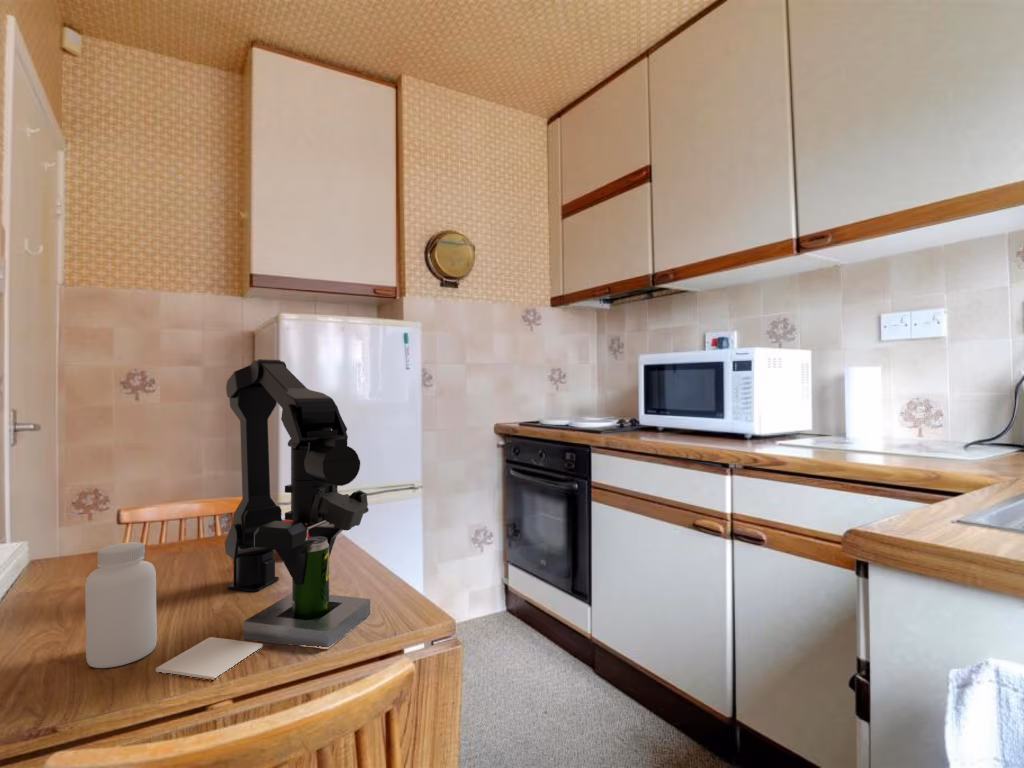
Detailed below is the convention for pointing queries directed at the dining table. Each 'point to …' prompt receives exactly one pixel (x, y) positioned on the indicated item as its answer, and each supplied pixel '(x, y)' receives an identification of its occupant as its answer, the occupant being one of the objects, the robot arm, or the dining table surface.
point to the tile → (209, 658)
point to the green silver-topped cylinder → (313, 583)
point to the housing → (306, 622)
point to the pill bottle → (120, 607)
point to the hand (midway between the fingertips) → (310, 578)
